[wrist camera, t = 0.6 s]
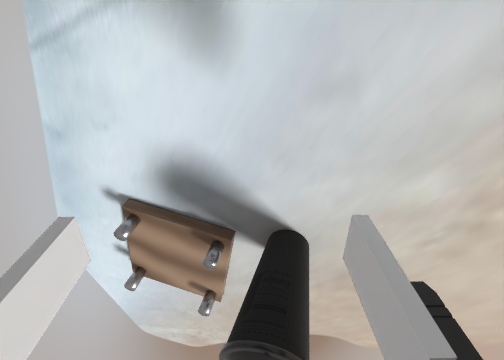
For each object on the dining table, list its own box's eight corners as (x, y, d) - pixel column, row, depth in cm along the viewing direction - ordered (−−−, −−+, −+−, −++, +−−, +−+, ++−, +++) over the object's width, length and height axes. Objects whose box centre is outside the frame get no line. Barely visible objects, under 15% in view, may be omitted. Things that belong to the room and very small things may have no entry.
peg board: (129, 198, 36) (106, 223, 32) (235, 231, 35) (223, 261, 31) (138, 264, 45) (121, 289, 41) (223, 293, 43) (213, 321, 40)
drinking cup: (259, 261, 37) (199, 477, 21) (253, 217, 32) (172, 447, 17) (320, 270, 35) (303, 514, 19) (322, 224, 31) (303, 490, 15)
